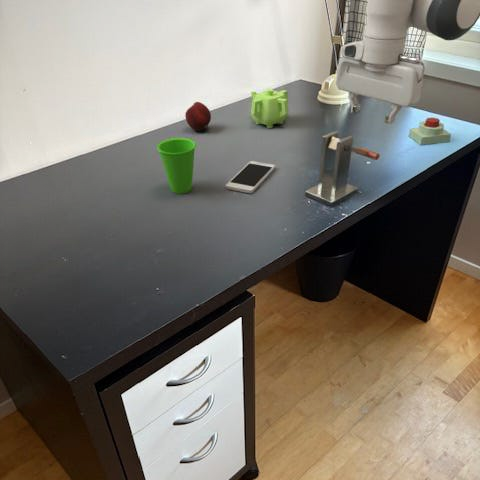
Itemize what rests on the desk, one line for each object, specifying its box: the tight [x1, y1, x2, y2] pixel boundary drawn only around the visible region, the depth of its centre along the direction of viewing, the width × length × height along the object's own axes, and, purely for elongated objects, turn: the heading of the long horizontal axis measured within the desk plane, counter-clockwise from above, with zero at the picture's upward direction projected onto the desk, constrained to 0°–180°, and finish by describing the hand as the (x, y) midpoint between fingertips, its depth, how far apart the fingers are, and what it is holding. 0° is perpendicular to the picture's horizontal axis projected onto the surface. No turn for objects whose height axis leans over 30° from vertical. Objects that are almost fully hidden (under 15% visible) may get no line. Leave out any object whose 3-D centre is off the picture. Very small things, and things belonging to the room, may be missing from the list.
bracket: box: [304, 130, 359, 208], centre depth 109 cm, size 10×8×14 cm
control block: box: [407, 120, 452, 146], centre depth 136 cm, size 9×7×4 cm
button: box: [425, 117, 441, 128], centre depth 134 cm, size 4×4×2 cm
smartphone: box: [225, 160, 276, 194], centre depth 120 cm, size 7×16×1 cm, turn 155°
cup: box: [156, 137, 197, 195], centre depth 114 cm, size 9×9×11 cm
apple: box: [184, 101, 212, 132], centre depth 144 cm, size 7×8×8 cm
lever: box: [328, 137, 380, 161], centre depth 111 cm, size 16×6×2 cm, turn 132°
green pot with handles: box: [250, 88, 290, 129], centre depth 146 cm, size 12×12×10 cm
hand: (371, 117), depth 110 cm, fingers open, 8 cm apart
